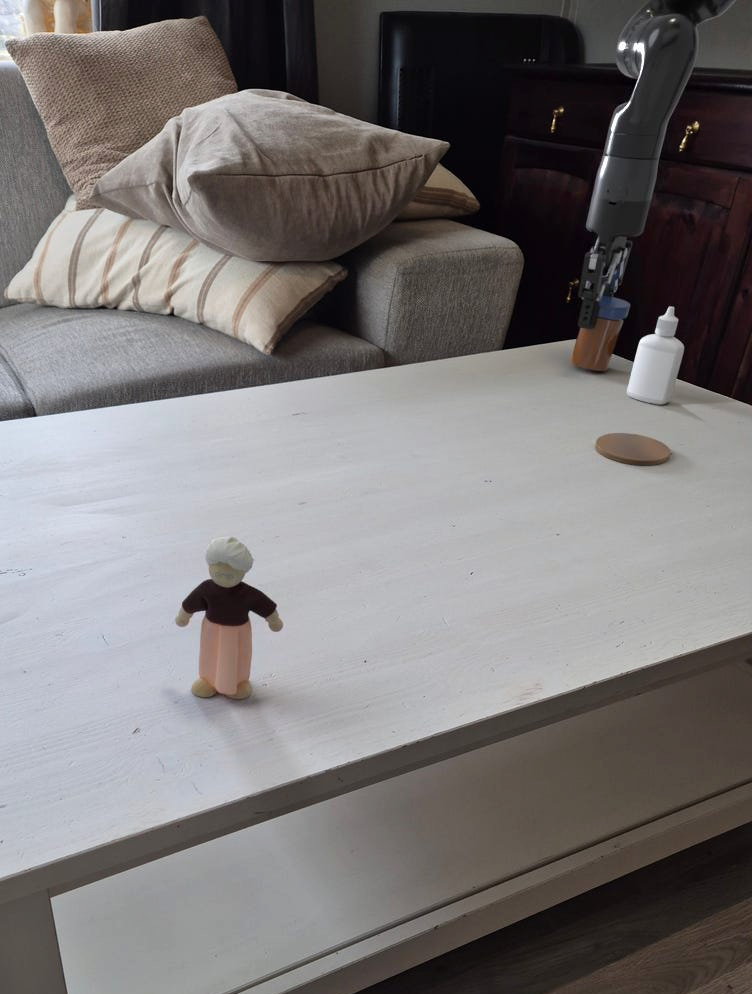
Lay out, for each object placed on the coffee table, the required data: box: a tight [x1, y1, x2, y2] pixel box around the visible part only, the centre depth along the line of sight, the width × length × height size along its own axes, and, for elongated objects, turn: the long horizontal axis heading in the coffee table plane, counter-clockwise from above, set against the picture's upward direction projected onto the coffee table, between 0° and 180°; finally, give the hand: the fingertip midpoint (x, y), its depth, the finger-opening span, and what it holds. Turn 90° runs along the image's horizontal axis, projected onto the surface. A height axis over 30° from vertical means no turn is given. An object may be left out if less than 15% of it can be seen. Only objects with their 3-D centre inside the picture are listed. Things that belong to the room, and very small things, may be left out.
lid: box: [597, 296, 631, 320], centre depth 130 cm, size 6×6×2 cm
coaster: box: [594, 432, 671, 466], centre depth 109 cm, size 8×8×1 cm
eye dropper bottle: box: [626, 306, 685, 405], centre depth 121 cm, size 4×6×12 cm
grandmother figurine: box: [174, 536, 284, 700], centre depth 65 cm, size 8×4×13 cm, turn 96°
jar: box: [569, 317, 624, 372], centre depth 132 cm, size 5×5×8 cm
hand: (592, 322), depth 132 cm, fingers closed on lid, 5 cm apart
